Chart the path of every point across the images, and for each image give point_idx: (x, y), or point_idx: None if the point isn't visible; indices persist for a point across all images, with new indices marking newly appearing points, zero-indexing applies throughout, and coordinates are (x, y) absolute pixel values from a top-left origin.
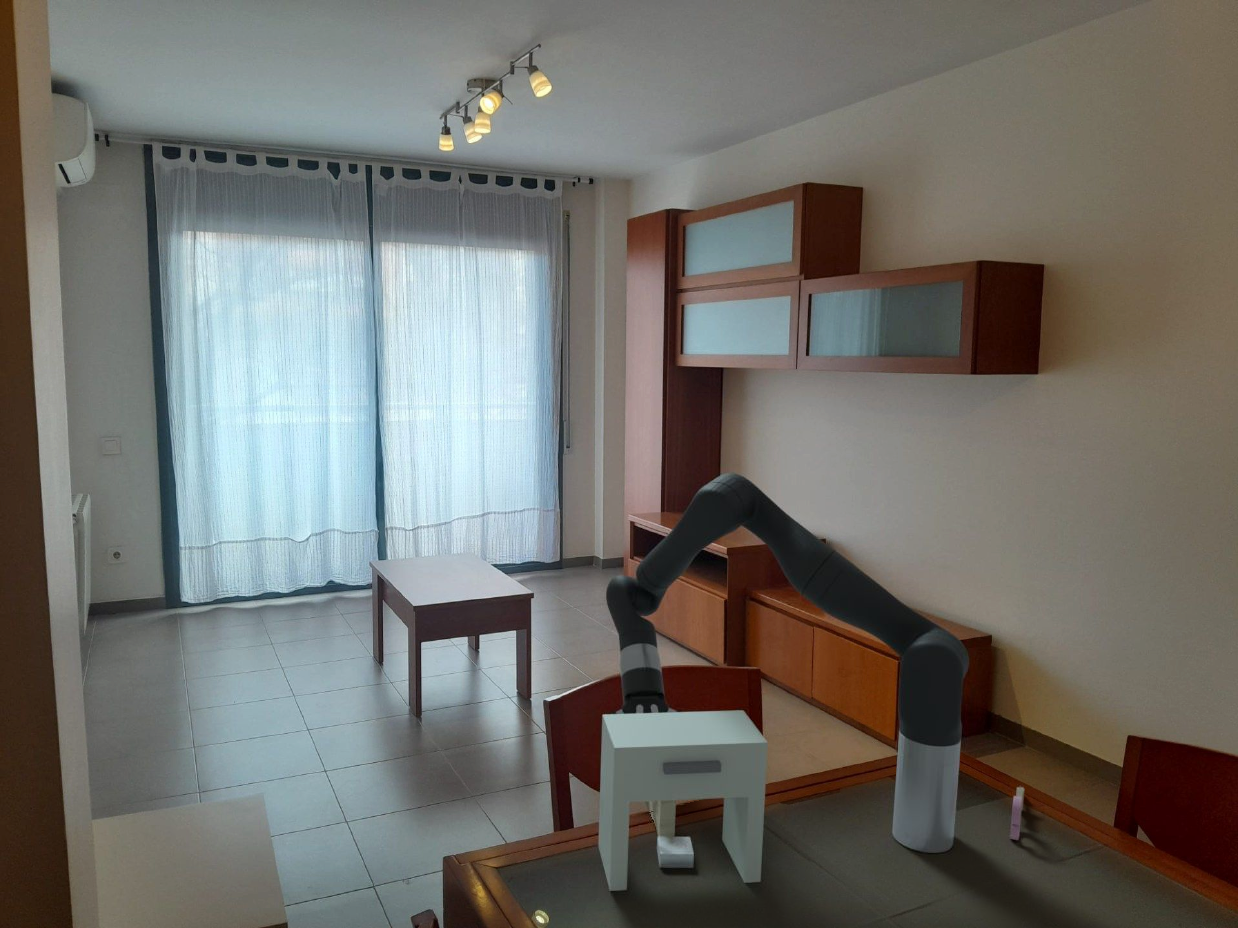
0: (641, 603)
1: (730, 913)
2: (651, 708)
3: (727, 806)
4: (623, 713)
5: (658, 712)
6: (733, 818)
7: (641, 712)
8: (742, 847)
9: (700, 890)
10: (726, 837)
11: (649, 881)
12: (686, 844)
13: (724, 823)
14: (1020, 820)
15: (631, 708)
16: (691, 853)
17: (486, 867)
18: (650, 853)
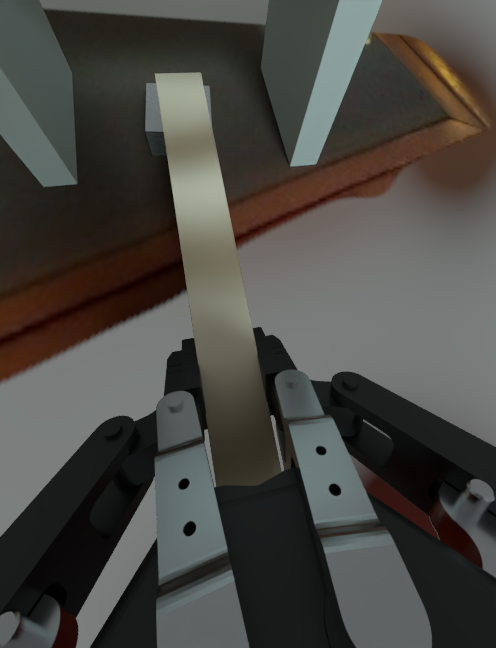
0: None
1: (114, 21)
2: (239, 637)
3: (16, 64)
4: (483, 569)
5: (156, 641)
6: (20, 30)
7: (339, 541)
8: (39, 17)
9: (150, 62)
10: (65, 144)
11: (227, 83)
12: (156, 109)
13: (53, 139)
14: None
15: (460, 628)
16: (150, 85)
17: (462, 118)
18: (224, 145)
